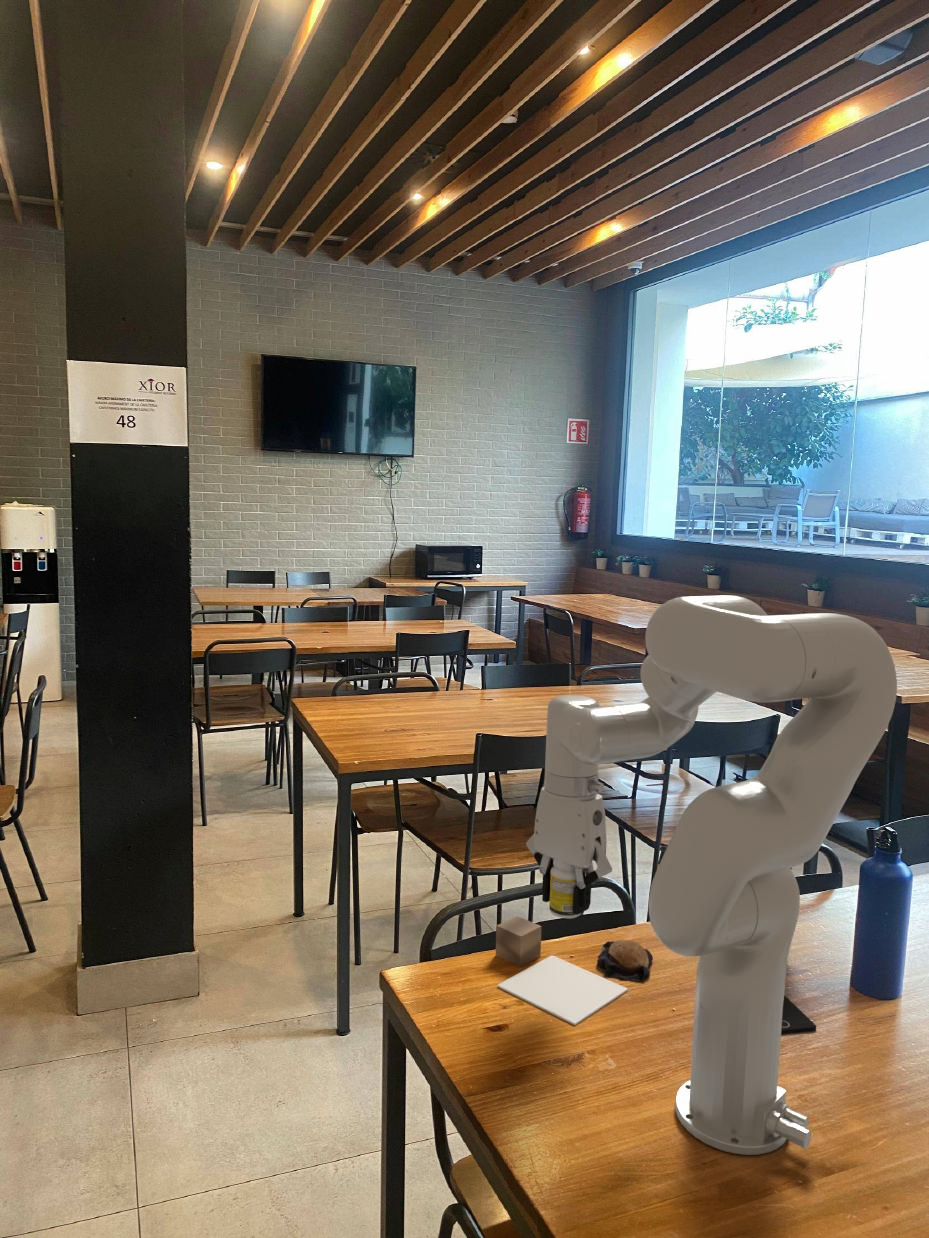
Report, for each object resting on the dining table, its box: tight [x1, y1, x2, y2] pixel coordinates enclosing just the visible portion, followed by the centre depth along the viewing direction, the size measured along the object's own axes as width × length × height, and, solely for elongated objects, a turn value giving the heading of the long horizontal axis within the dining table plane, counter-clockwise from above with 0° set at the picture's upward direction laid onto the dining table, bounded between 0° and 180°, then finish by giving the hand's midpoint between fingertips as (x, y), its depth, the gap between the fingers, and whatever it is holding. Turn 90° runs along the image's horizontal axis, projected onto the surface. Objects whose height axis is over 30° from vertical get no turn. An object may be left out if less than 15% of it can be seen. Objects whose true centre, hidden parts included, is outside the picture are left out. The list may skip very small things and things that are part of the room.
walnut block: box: [495, 915, 542, 968], centre depth 139 cm, size 5×5×5 cm
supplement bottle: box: [548, 859, 582, 919], centre depth 128 cm, size 5×5×8 cm
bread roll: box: [596, 939, 654, 983], centre depth 138 cm, size 11×8×4 cm
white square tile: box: [496, 954, 629, 1026], centre depth 130 cm, size 14×13×1 cm
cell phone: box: [781, 994, 817, 1035], centre depth 129 cm, size 9×18×1 cm, turn 11°
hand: (565, 903), depth 129 cm, fingers closed on supplement bottle, 4 cm apart
